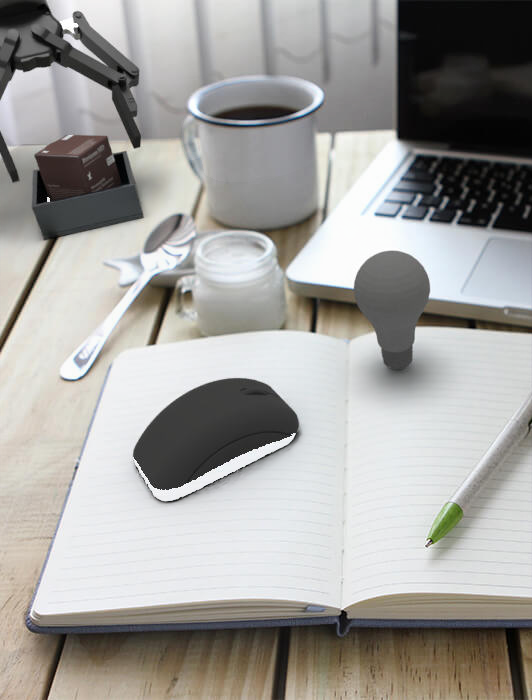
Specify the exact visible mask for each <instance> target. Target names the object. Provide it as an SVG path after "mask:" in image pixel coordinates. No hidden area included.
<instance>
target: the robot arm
mask: <svg viewBox="0 0 532 700" xmlns="http://www.w3.org/2000/svg"><path fill="white" fill-rule="evenodd" d="M64 35H70V36H71V37H72V39H74V41H80V42H81V44H82V45H83V46H84V47H85V48H86V49H87V50H88V51H89V52H90V53H92V55H94V56H95V57H96V58H98V59H99V60H100V61H99V60H97V59H96V58H93V57H92V56H90V55H88V54H87V53H85V52H83V51H82V50H80V49H77V47H74V46H73V45H72V43H70V41H68V40H66V39H64V37H65V36H64ZM53 63H55V64H57V65H59V66H61V67H63V68H65V69H67V68H69V69H71V70H72V71H75V72H76V73H78V74H80V75H82V76H83V77H85V78H87V79H89V80H91V81H93V82H94V83H96V84H98V85H100V86H102V87H104V88H105V89H107V90H109V91H111V100H112V102H113V105H114V107H115V109H116V111H117V114H118V116H119V118H120V120H121V123H122V125H123V127H124V129H125V132H126V134H127V136H128V138H129V141H130V143H131V146H132V149H133V150H135V149H139V148H141V143H142V134H141V132H140V130H139V127H138V125H137V123H136V121H135V119H134V118H136V117H138V104H137V102H136V99H135V97H134V95H133V93H132V91H131V88H132V87H134V88H135V87H137V86H138V85H139V83H140V68H139V67H138V66H137V65H135V63H133V61H131V59H129V58H128V57H127V56H126V55H124V54H123V53H122V52H121V51H120V50H118V49H117V48H116V47H115V46H114V45H113V44H112V43H110V42H109V41H108V40H107V39H106V38H105V37H104V36H102V35H101V34H100V33H99V32H97V31H96V30H95V29H94V28H93V27H92V26H91V25H90V23H89V22H88V20H87V18H86V16H85V15H84V13H83V12H82V11H79V10H76V11H73V12H72V17H71V18H67V19H65V20H61V21H59V20H58V19H57V18H56V17H55V16H54V15H53V12H52V11H51V9H50V6H49V4H48V1H47V0H0V101H1V100H2V98H3V95H4V93H5V91H6V89H7V87H8V85H9V83H10V82H11V81H12V79H13V77H14V75H15V73H16V71H22V72H23V73H27V72H31V71H33V70H35V69H38V68H43V69H44V68H49V67H51V66H52V64H53ZM0 156H1V159H2V162H3V163H4V166H5V168H6V171H7V173H8V176H9V178H10V180H11V182H12V184H14V183H18V182H20V176H19V173H18V169H17V166H16V163H15V162H14V159H13V157H12V155H11V153H10V150H9V148H8V145H7V142H6V141H5V138H4V136H3V134H2V132H1V130H0Z"/></svg>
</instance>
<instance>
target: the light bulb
mask: <svg viewBox="0 0 532 700" xmlns="http://www.w3.org/2000/svg"><path fill="white" fill-rule="evenodd" d="M430 294H431V283H430V278H429V275H428V273H427V270H426V269H425V266H423V264H422V263H421V262H420V261H419V260H418V259H417V258H416V257H414V256H413V255H411V254H410V253H406V252H404V251H400V250H385V251H380V252H378V253H375V254H373V255H372V256H370V257H368V258H367V259H366V260H365V261H364V263H362V265H361V266H360V267H359V269H358V271H357V272H356V275H355V278H354V283H353V295H354V296H353V297H354V300H355V303H356V304H357V307H358V309H359V310H360V311H361V313H362V314H363V316H364V317H365V318H366V319H367V320H368V322H369V323H370V324H371V326H372V328H373V329H374V332H375V335H376V341H377V344H378V346H379V347H380V349H381V350H380V351H381V358H382V362H383V364H384V365H385V366H386V367H387V368H389V369H393V370H402V369H405V368H407V367H409V366H410V364H411V363H412V362H413V356H414V355H413V351H414V350H413V345H414V343H415V340H416V327H417V324H418V321H419V319H420V317H421V315H422V314H423V312H424V310H425V308H426V306H427V304H428V303H429V299H430Z"/></svg>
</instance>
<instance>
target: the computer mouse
mask: <svg viewBox="0 0 532 700" xmlns="http://www.w3.org/2000/svg"><path fill="white" fill-rule="evenodd" d="M298 428H300V420H299V417H298V414H297V413H296V412H295V410H294V409H293V408H292V407H291V406H290V405H289V404H288V403H287V402H286V401H285V400H284V399H283V398H282V397H281V396H280V395H279V394H278V393H277V391H275V389H274V388H272V387H271V385H269V384H267V383H265V382H263V381H260V380H257V379H252V378H246V377H227V378H222V379H217V380H212V381H210V382H206V383H203V384H201V385H199V386H196V387H195V388H193V389H189V391H187V392H185V393H183V394H182V395H180V396H178V397H177V398H175V399H174V400H173V401H172V402H170V403H169V404H168V405H167V406H165V407H164V408H163V409H162V410H161V411H160V412H158V414H157V415H156V416H155V417H154V418H153V419H152V420H151V422H150V423H149V424H148V425H147V426H146V428H145V429H144V431H143V432H142V433H141V435H140V436H139V438H138V439H137V441H136V443H135V446H134V447H133V451H132V458H133V457H134V459H135V460H136V461H137V463H138V464H139V466H140V467H141V470H142V471H143V473H144V474H145V476H146V477H147V478H148V480H149V482H150V484H151V485H152V486H153V487H154V488H157V489H160V490H161V489H162V490H165V489H166V490H169V489H172V488H178V487H181V486H183V485H184V484H186V483H189V482H191V481H192V480H196V479H197V478H198V477H200V476H203V475H204V474H205V473H207V472H209V471H211V470H212V469H215V468H217V467H218V466H221V465H223V464H224V463H226V462H229V461H230V460H231V459H234V458H235V457H238V456H240V455H242V454H245V453H247V452H249V451H252V450H253V449H258V448H259V447H262V446H265V445H266V444H270V443H272V442H276V441H280V440H282V439H284V438H287V437H290V436H292V435H291V434H293V433H296V432H297V430H298V431H299V429H298ZM297 433H298V432H297Z"/></svg>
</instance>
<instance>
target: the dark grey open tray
mask: <svg viewBox="0 0 532 700" xmlns="http://www.w3.org/2000/svg"><path fill="white" fill-rule="evenodd" d="M112 153H113V152H112ZM113 157H114V160H115V163H116V166H117V169H118V173H119V176H120V180H121V183H122V186H118V187H114V188H109V189H105V190H100V191H95V192H91V193H86V194H82V195H77V196H73V197H68V198H64V199H59V200H54V201H50V202H47V197H49V196H48V193H47V190H46V187H45V184H44V182H43V179H42V176H41V173H40V170H39V168H38V169H33V170H32V191H31V192H32V194H31V209H32V211H33V214H34V217H35V219H36V222H37V225H38V229H39V230H40V233H41V235H42V239H43V240H44V241H45V240H50V239H54V238H58V237H59V238H60V237H62V236H67V235H72V234H77V233H80V232H85V231H89V230H93V229H98V228H103V227H107V226H111V225H116V224H121V223H125V222H129V221H135V220H137V219H142V218H144V212H143V208H142V203H141V200H140V196H139V191H138V187H137V183H136V180H135V176H134V172H133V169H132V165H131V161H130V159H129V155H128V151H127V150H123V151H118V152H114V153H113Z"/></svg>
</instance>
